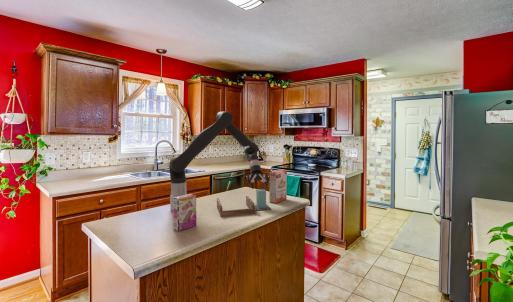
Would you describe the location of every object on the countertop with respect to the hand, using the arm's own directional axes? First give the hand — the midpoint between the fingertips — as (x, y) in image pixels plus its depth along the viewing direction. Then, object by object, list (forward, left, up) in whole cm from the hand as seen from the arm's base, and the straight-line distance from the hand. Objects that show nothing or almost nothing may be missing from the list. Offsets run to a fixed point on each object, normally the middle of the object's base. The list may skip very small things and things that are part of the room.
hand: (259, 187), depth 172 cm
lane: (-17, +5, -12) cm, 21 cm away
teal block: (-2, -3, -12) cm, 12 cm away
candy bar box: (-54, 0, -12) cm, 55 cm away
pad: (-2, -3, -12) cm, 13 cm away
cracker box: (+18, 0, -12) cm, 22 cm away
